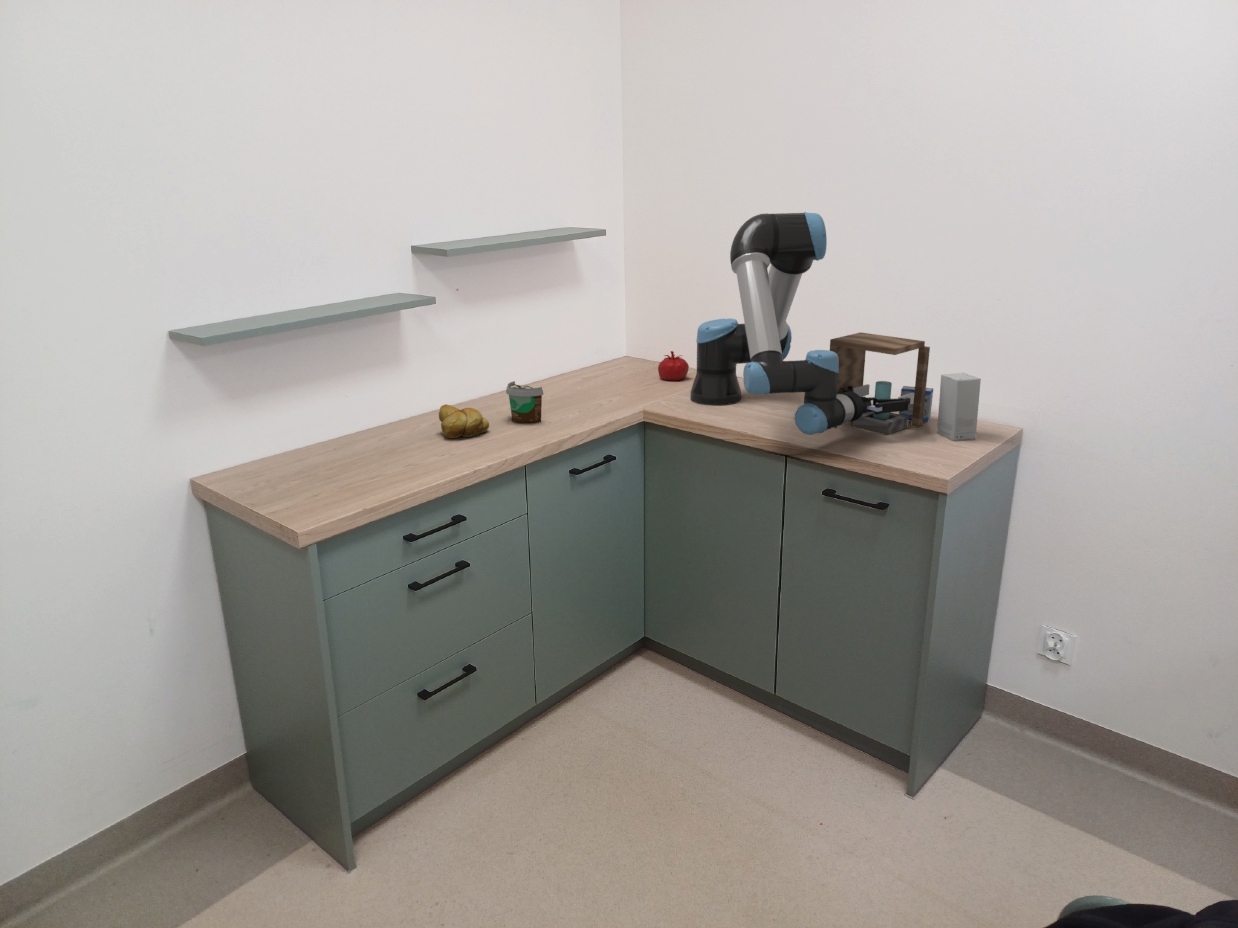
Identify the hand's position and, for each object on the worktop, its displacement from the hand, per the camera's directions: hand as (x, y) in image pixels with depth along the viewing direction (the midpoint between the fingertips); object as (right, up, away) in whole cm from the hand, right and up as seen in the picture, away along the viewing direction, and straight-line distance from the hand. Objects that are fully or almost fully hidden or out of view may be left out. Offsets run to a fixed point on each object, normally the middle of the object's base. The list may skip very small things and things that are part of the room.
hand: (889, 393), depth 229 cm
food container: (-98, -7, +12) cm, 99 cm away
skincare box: (+14, -12, -8) cm, 20 cm away
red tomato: (-53, +9, +58) cm, 79 cm away
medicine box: (+9, -7, +8) cm, 13 cm away
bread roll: (-112, -11, +1) cm, 112 cm away
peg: (-2, -9, 0) cm, 9 cm away
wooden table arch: (-3, -8, +4) cm, 9 cm away
